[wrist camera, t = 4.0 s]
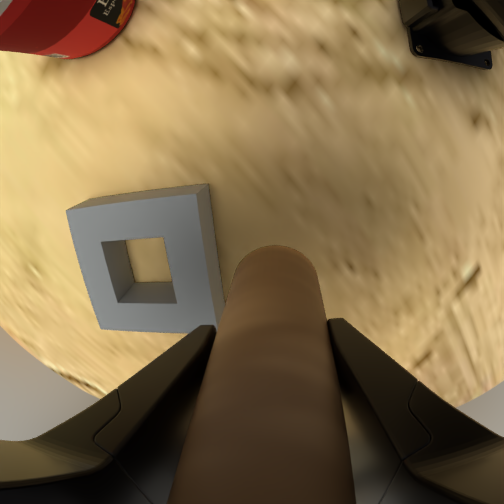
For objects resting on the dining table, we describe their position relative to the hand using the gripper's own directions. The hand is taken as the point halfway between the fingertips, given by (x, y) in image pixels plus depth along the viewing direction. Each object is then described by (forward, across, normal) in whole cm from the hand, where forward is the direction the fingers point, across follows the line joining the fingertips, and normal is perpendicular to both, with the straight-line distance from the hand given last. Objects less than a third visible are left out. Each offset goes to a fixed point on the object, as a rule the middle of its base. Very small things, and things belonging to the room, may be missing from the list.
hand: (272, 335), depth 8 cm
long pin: (+3, 0, 0) cm, 3 cm away
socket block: (+12, +9, +2) cm, 15 cm away
